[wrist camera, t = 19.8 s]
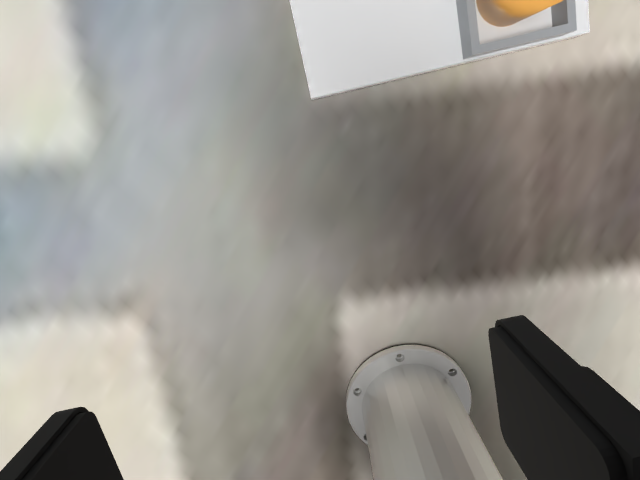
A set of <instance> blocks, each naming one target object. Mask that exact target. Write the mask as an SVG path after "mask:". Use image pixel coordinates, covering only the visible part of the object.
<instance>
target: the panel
mask: <svg viewBox="0 0 640 480" xmlns="http://www.w3.org/2000/svg"><path fill="white" fill-rule="evenodd" d="M289 1H290V5H291V10H292V15H293V19H294V24H295V28H296V33H297V37H298V42H299V46H300V51H301V55H302V60H303V65H304V69H305V74H306V78H307V83H308V87H309V92H310V96H311V100H315V99H319V98H323V97H327V96H332V95H336V94H340V93H344V92H348V91H353V90H357V89H361V88H365V87H369V86H374V85H378V84H382V83H386V82H390V81H395V80H399V79H403V78H407V77H411V76H416V75H420V74H424V73H428V72H432V71H437V70H441V69H445V68H449V67H453V66H458V65H462V64H466V63H470V62H474V61H479V60H483V59H487V58H491V57H495V56H500V55H504V54H508V53H512V52H516V51H521V50H525V49H529V48H533V47H537V46H542V45H546V44H550V43H554V42H558V41H563V40H567V39H571V38H575V37H578V36H580V35H583V34H586V33H589V32H590V27H589V6H588V0H563V1H561V2H560V3H557V4H555V5H553V6H551V7H549V8H547V9H545V10H542V11H540V12H538V13H536V14H534V15H532V16H530V17H528V18H525V19H523V20H521V21H519V22H517V23H515V24H513V25H510V26H506V27H497V26H494V25H491V24H489V23H488V22H486V21H485V20H484V19H483V18H482V16H481V15H480V13H479V11H478V8H477V4H476V0H289Z"/></svg>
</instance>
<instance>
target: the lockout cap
mask: <svg viewBox="0 0 640 480" xmlns="http://www.w3.org/2000/svg"><path fill="white" fill-rule="evenodd" d="M561 1H563V0H476V4H477V8H478V11H479V13H480V15H481V16H482V18H483V19H484V20H485V21H486V22H488V23H489V24H491V25H494V26H497V27H506V26H510V25H513V24H515V23H517V22H519V21H521V20H523V19H525V18H528V17H530V16H532V15H534V14H536V13H538V12H540V11H542V10H545V9H547V8H549V7H551V6H553V5H555V4H557V3H560V2H561Z"/></svg>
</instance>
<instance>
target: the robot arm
mask: <svg viewBox="0 0 640 480" xmlns="http://www.w3.org/2000/svg"><path fill="white" fill-rule="evenodd" d="M489 342H490V350H491V357H492V365H493V373H494V380H495V388H496V396H497V403H498V411H499V419H500V426H501V431H502V434H503V437H504V440H505V442H506V444H507V446H508V447H509V449H510V451H511V452H512V454H513V456H514V457H515V459H516V461H517V462H518V464H519V466H520V467H521V469H522V470H523V472H524V474H525V475H526V477H527V479H528V480H640V411H639V410H638V409H637V408H635V407H634V406H633V405H632V404H631V403H630V402H628V401H627V400H626V399H625V398H624V397H623V396H622V395H620V394H619V393H618V392H617V391H616V390H615V389H614V388H612V387H611V386H610V385H609V384H608V383H607V382H605V381H604V380H603V379H602V378H601V377H600V376H599V375H597V374H596V373H595V372H594V371H592V370H591V369H590V368H588V367H584V366H580V365H579V364H578V363H577V362H576V361H574V360H573V359H572V358H571V357H570V356H569V355H568V354H567V353H565V352H564V351H563V350H562V349H561V348H560V347H559V346H558V345H556V344H555V343H554V342H553V341H552V340H551V339H550V338H549V337H548V336H546V335H545V334H544V333H543V332H542V331H541V330H540V329H539V328H537V327H536V326H535V325H534V324H533V323H532V322H531V321H530V320H528V319H527V318H526V317H525V316H523V315H520V316H515V317H510V318H505V319H501V320H497V321H496V323H495V328H490V329H489ZM398 354H399V355H398ZM471 403H472V399H471V390H470V386H469V382H468V380H467V379H466V377H465V375H464V373H463V371H462V370H461V369H460V367H459V366H458V364H457V363H456V362H455V361H454V360H453V359H451V358H450V357H449V356H447V355H446V354H444V353H443V352H441V351H439V350H436V349H434V348H431V347H427V346H421V345H401V346H395V347H391V348H389V349H386V350H383V351H381V352H379V353H377V354H375V355H373V356H372V357H370V358H369V359H368V360H367V361H365V362H364V363H363V364H362V365H361V366H360V367H359V369H358V370H357V371H356V372H355V374H354V376H353V377H352V379H351V381H350V383H349V386H348V389H347V395H346V409H347V415H348V419H349V423H350V425H351V427H352V429H353V431H354V432H355V433H356V435H357V436H358V437H359V438H360V439H361V440H362V441H363V442H364V443H365V444H367V445H368V449H369V455H370V461H371V466H372V472H373V478H374V480H503V479H502V477H501V475H500V473H499V471H498V469H497V467H496V466H495V464H494V462H493V460H492V458H491V456H490V454H489V452H488V451H487V449H486V447H485V445H484V443H483V441H482V439H481V438H480V436H479V434H478V432H477V430H476V428H475V426H474V425H473V423H472V421H471V419H470V417H469V413H470V409H471ZM0 480H123V477H122V475H121V473H120V470H119V468H118V466H117V464H116V461H115V459H114V457H113V454H112V452H111V450H110V448H109V445H108V443H107V441H106V438H105V436H104V434H103V432H102V429H101V427H100V425H99V422H98V420H97V418H96V416H95V414H94V413H92V412H89V411H88V410H87V409H86V408H84V407H78V408H73V409H68V410H63V411H59V412H56V413H54V414H53V415H52V416H51V417H50V418H49V419H48V420H47V421H46V422H45V423H44V425H43V426H42V427H41V428H40V429H39V430H38V431H37V432H36V433H35V434H34V435H33V437H32V438H31V439H30V440H29V441H28V442H27V443H26V444H25V445H24V446H23V447H22V449H21V450H20V451H19V452H18V453H17V454H16V455H15V456H14V457H13V458H12V459H11V461H10V462H9V463H8V464H7V465H6V466H5V467H4V468H3V469H2V470H1V471H0Z"/></svg>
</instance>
